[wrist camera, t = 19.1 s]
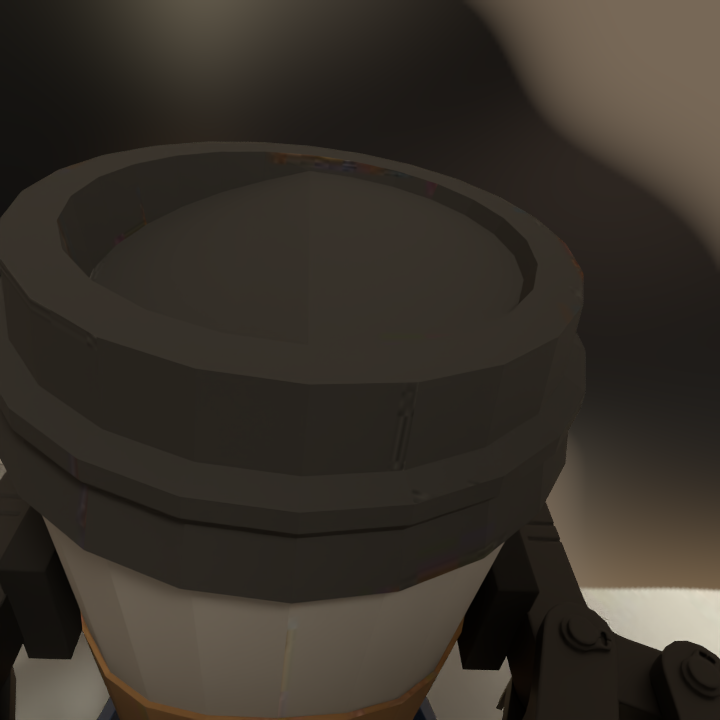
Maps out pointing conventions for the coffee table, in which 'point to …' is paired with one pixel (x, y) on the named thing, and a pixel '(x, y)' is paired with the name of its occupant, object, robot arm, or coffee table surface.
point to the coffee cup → (280, 415)
